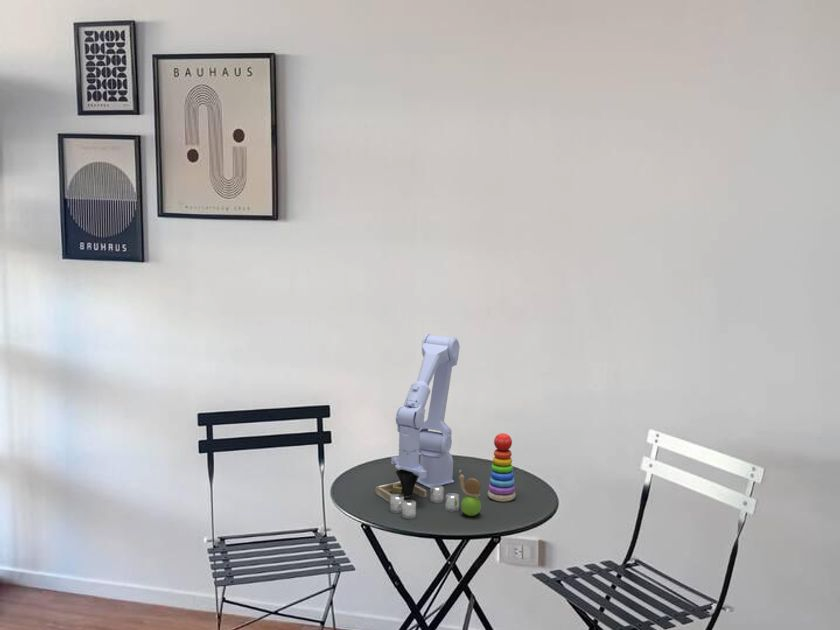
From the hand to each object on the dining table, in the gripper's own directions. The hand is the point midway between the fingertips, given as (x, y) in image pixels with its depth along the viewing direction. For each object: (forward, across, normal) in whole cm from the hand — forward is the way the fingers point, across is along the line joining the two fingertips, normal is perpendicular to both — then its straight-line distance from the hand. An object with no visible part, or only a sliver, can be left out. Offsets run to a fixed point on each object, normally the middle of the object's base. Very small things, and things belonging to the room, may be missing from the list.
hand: (407, 495), depth 226 cm
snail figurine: (+1, +18, +8) cm, 19 cm away
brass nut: (+1, -3, 0) cm, 4 cm away
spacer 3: (+1, +5, +6) cm, 8 cm away
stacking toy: (+1, +12, +24) cm, 27 cm away
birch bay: (+1, -4, 0) cm, 4 cm away
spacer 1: (+1, +5, -7) cm, 9 cm away
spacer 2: (+1, +10, -6) cm, 12 cm away
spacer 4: (+1, +12, +6) cm, 14 cm away
